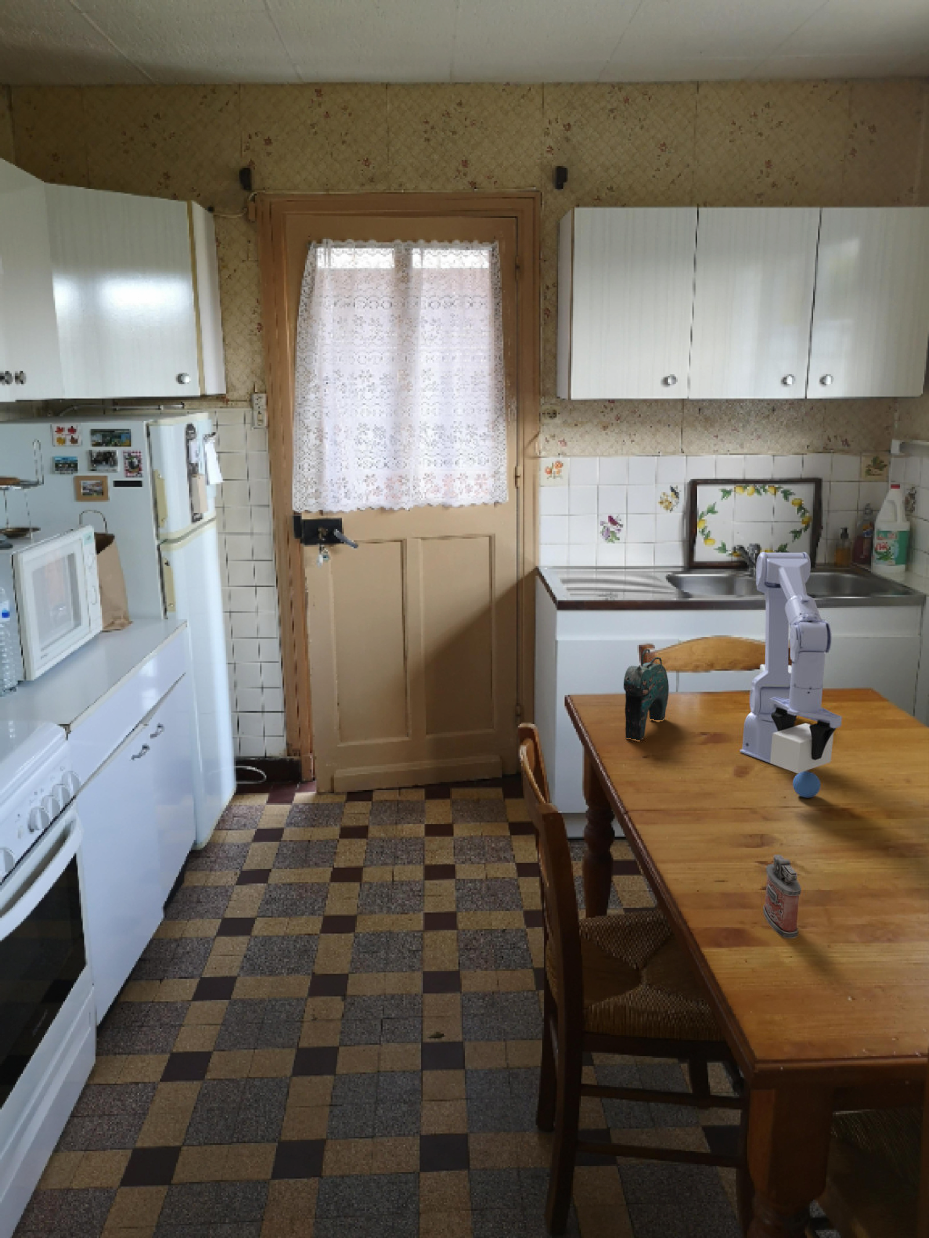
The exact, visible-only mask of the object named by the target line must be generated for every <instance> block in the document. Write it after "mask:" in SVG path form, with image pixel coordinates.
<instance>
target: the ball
mask: <svg viewBox="0 0 929 1238" xmlns="http://www.w3.org/2000/svg"><path fill="white" fill-rule="evenodd" d="M792 787H793V790H794V791H795V793H796V794H797V795H798V796H800V797H801V798H802V797H803V798H807V799H808V798H809V799H810V798H813V797H815V796H817V794H818V793H819V792H820V789H821V781H820V779H819V777H818V776H817V775H816V774H815V773H814V772H810V771H808V770H806V771H803V772H800V773H796V775H795V776H794V777H793V780H792Z"/></svg>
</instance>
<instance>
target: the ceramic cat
mask: <svg viewBox="0 0 929 1238" xmlns="http://www.w3.org/2000/svg"><path fill="white" fill-rule="evenodd" d="M646 652H647V653H648V654H650V653H651V650H650V649H649V648H646V649H644V650H643V651H642V653H641V659H640V660H641V662H640V665H630V666H628V668H626V671H625V673H624V677H623V690H624V692H625V695H624V698H625V706H624V713H625V714H624V715H625V728H624V730H625V739H626V738H631V739H636V740H641V739H642V738H645V733H646V727H647V720H648V719H649V718H650V719H654V720H663V719H664V718H665V719H666V710H667V706H668V700H669V693H670V690H669V689H670V687H669V686H670V685H669V678H668V672H667V669H666V668H665V666H664V665H663V661H662V657H660V656H656V657H654V658H652V659H651V660H650V662H644V656H645V654H646ZM656 660H658V661H659V663H655V661H656ZM648 717H649V718H648ZM665 719H664V720H665ZM641 741H642V740H641Z"/></svg>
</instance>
